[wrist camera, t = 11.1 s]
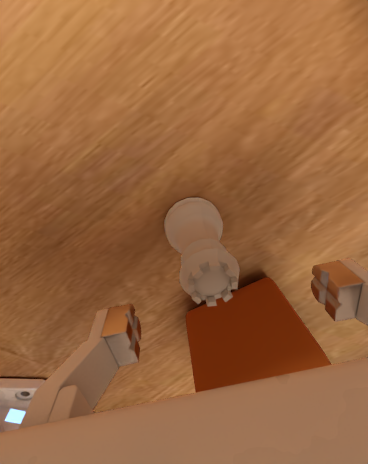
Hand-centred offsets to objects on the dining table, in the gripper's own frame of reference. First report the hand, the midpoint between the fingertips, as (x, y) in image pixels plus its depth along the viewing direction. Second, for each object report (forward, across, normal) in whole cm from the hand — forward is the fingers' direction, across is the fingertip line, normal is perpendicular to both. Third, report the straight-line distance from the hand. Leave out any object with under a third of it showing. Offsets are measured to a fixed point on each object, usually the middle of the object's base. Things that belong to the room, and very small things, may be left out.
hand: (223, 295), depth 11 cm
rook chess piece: (+9, 0, 0) cm, 9 cm away
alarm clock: (+9, -4, +19) cm, 21 cm away
